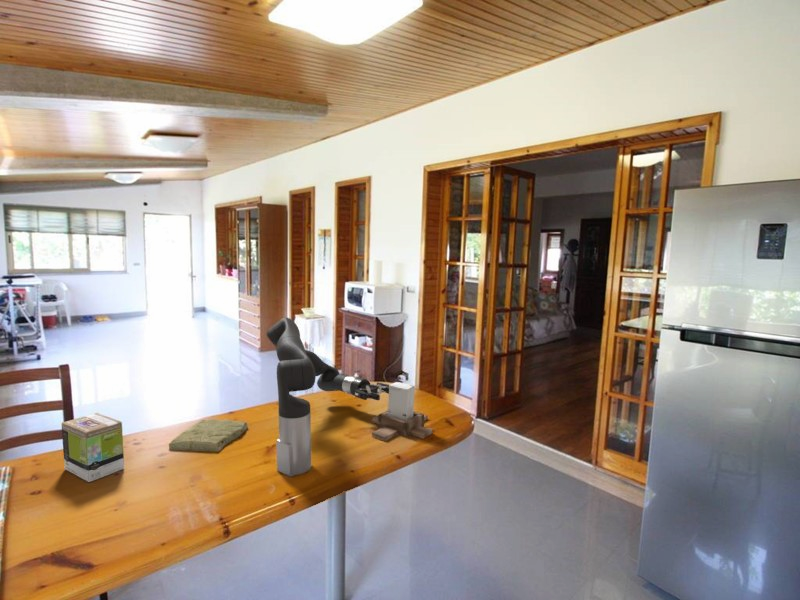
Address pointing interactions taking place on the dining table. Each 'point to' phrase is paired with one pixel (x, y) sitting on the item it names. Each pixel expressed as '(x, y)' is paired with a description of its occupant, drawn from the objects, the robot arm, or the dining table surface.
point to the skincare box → (401, 401)
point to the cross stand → (400, 426)
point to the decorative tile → (208, 435)
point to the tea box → (93, 446)
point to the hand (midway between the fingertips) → (386, 394)
